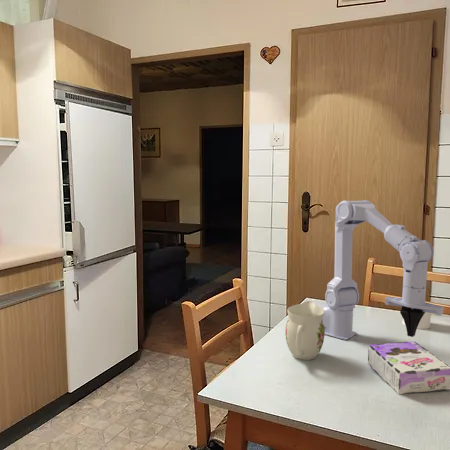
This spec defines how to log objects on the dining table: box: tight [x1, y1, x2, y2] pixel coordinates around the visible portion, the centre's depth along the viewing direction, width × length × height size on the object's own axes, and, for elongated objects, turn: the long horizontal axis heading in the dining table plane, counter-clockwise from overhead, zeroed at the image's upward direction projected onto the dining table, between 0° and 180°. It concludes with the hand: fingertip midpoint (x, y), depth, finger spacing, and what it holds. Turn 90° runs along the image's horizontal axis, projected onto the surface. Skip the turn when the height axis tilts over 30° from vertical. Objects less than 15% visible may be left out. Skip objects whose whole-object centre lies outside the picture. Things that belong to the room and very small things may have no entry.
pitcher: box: [285, 300, 325, 361], centre depth 129 cm, size 11×18×14 cm, turn 160°
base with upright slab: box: [401, 312, 432, 330], centre depth 158 cm, size 9×9×12 cm
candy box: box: [367, 340, 450, 395], centre depth 116 cm, size 14×6×16 cm
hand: (411, 335), depth 122 cm, fingers closed
